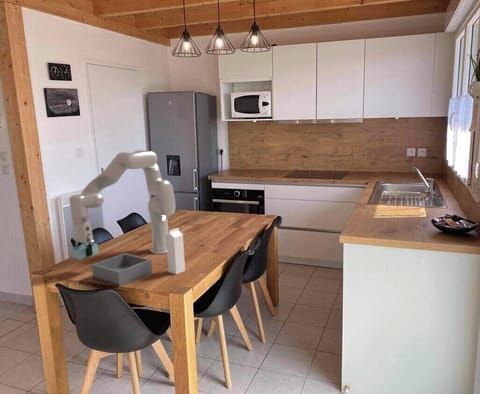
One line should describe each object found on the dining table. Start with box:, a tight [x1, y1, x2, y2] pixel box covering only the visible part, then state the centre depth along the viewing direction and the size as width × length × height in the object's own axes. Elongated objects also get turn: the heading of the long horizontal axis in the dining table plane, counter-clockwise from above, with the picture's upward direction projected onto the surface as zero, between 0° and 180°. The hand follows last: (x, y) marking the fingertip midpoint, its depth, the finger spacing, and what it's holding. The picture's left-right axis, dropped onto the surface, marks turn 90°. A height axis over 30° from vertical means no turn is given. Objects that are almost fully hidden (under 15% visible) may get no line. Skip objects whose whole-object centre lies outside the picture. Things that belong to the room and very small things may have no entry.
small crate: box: [69, 243, 100, 262], centre depth 210 cm, size 11×7×5 cm, turn 144°
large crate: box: [91, 252, 153, 288], centre depth 206 cm, size 20×20×7 cm
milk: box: [166, 227, 186, 275], centre depth 208 cm, size 6×6×22 cm
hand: (85, 253), depth 210 cm, fingers closed on small crate, 7 cm apart
